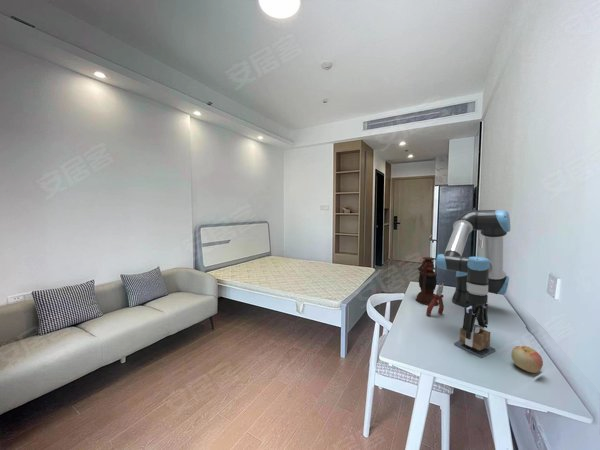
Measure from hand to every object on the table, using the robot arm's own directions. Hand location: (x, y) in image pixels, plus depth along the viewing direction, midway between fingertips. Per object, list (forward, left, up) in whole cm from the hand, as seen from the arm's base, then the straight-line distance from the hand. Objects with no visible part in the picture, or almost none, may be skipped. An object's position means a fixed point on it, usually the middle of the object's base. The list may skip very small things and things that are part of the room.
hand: (474, 343), depth 106 cm
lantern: (-30, -44, -2) cm, 53 cm away
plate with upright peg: (0, 0, -2) cm, 2 cm away
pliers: (-16, -29, -2) cm, 33 cm away
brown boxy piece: (0, 0, 0) cm, 0 cm away
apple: (-2, +17, -2) cm, 17 cm away
